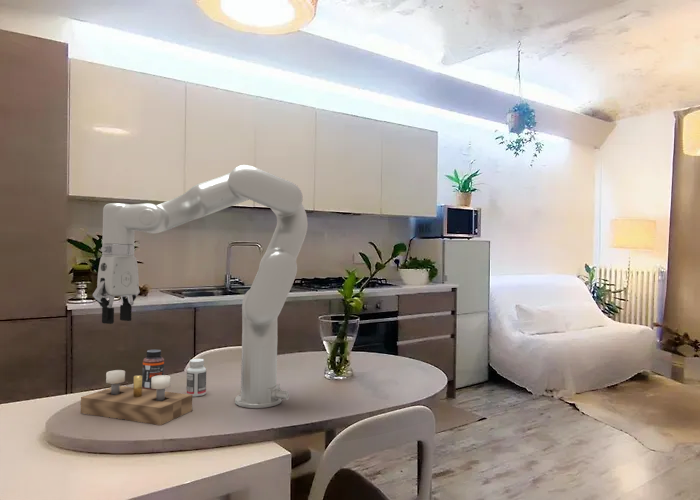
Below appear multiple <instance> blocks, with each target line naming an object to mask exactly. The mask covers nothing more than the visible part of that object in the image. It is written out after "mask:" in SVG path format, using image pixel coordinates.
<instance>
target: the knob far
mask: <svg viewBox="0 0 700 500" xmlns="http://www.w3.org/2000/svg"><path fill="white" fill-rule="evenodd" d="M105 378H106V379H105V383H106V384H110V385H111V386H110V388H111V395H118V394H120V386H121V383H124V382H125V381H126V371H125V370H122V369H115V370H109V371H106V374H105Z"/></svg>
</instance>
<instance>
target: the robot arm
mask: <svg viewBox="0 0 700 500" xmlns="http://www.w3.org/2000/svg"><path fill="white" fill-rule="evenodd" d="M249 200H250V201H252V202H254V203H257V204H259V205H263V206H264V207H267V208H270V209H271V211H272V212H273V213H274V215H275V217H276V226H275V229H274V232H273V233H272V236H271V239H270V241H269V243H268V246H267V248H266V251H265V253H264V254H263V256H261V259H260V261H259V267H258V270H257V273H256V275H255V277H254V278H253V281H252V283H251V286H250V289H248V290H247V291H246V292H245V294H244V296H243V297H242V303H241V309H242V310H241V316H242V318H241V319H242V320H241V321H242V322H241V324H242V329H241V331H242V333H241V376H240V378H241V381H240V383H241V384H240V394H238V395H236V397H235V398H234V403H235V405H237V406H239V407H242V408H247V409H248V408H249V409H263V408H264V409H265V408H270V407H274V406H278V405H279V404H281V403H282V401H283V400H285V401H286V400H289V397H290V392H289V390H285V389H281V385H280V383H279V384H278V383H277V379H278V378H277V373H278V372H277V371H278V370H277V369H278V317H279V315H280V314H281V312H282V309H283V307H284V305H285V303H286V301H287V298H288V295H289V294H290V291H291V289H292V287H293V284H294V281H295V279H296V276H297V273H298V263H297V259H298V256H299V254H300V251H301V249H302V247H303V244H304V241H305V238H306V236H307V232H308V226H309V225H308V215H307V212H306V210H305V207H304V205H303V200H304V199H303V192H302V190H301V188H300V187H299V186H298V185H297V184H295V183H294V182H293V181H291V180H288V179H285V178H283V177H280V176H277V175H276V174H273V173H271V172H269V171H268V172H267V171H265V170H263V169H261V168H259V167H256V166H254V165H250V164H240V165H237V166H235V167H234V168H233V169H232V170H231V171H230V172H229V173H225V174H223V175H220V176H218V177H217V176H216V177H215V178H212V179H209V180H206V181H203V182H200V183H197V184H196V185H193V186H192V187H191V188H189V189H188V190H187V191H186V192H185V193H183V194H180V195H179V196H177V197H174V198H172V199H169V200H167V201H164V202H161V203H159V204H154V203H150V202H147V203H143V202H142V203H134V204H129V203H121V202H120V203H119V202H112V203H110V202H109V203H107V204H105V205H104V206H103V209H102V247H100V252H102V253H101V257H100V259H99V265H98V272H97V281H96V283H97V284H96V286H97V287H96V288H95V290H94V292H93V293H92V297H93V298H94V299H95V300H96V301H97V303H98V305H99V307H100V308H101V323H102V324H106V325H107V324H109V325H112V324H114V323H115V308H114V307H113V305H114V301H115V297H120V299H121V304H120V307H119V320H120V321H124V322H130V321H132V314H133V313H132V310H133V309H132V306H134V304H135V303H134V302H135V300H136V299H137V296H138V295H139V294H140V292H141V291H140V288H139V287H140V283H139V281H140V280H139V266H138V261H137V257H136V256H135V237H136V236H135V232H136V231H137V232H143V233H148V234H159V233H163V232H166V231H168V230H171V229H174V228H177V227H179V226H182V225H184V224H187V223H189V222H191V221H194V220H198V219H201V218H204V217H206V216H208V215H211V214H214V213H216V212H220V211H222V210H225V209H227V208H229V207H233V206H236V205H238V204H242V203H244V202H246V201H249Z"/></svg>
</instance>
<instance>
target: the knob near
mask: <svg viewBox="0 0 700 500" xmlns="http://www.w3.org/2000/svg"><path fill="white" fill-rule="evenodd" d="M170 387H171V376H170V375H166V374H164V375H158V376H153V377H152V378H151V388H152V389H156V401H164V400H165V392H166V389H169V388H170Z"/></svg>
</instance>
